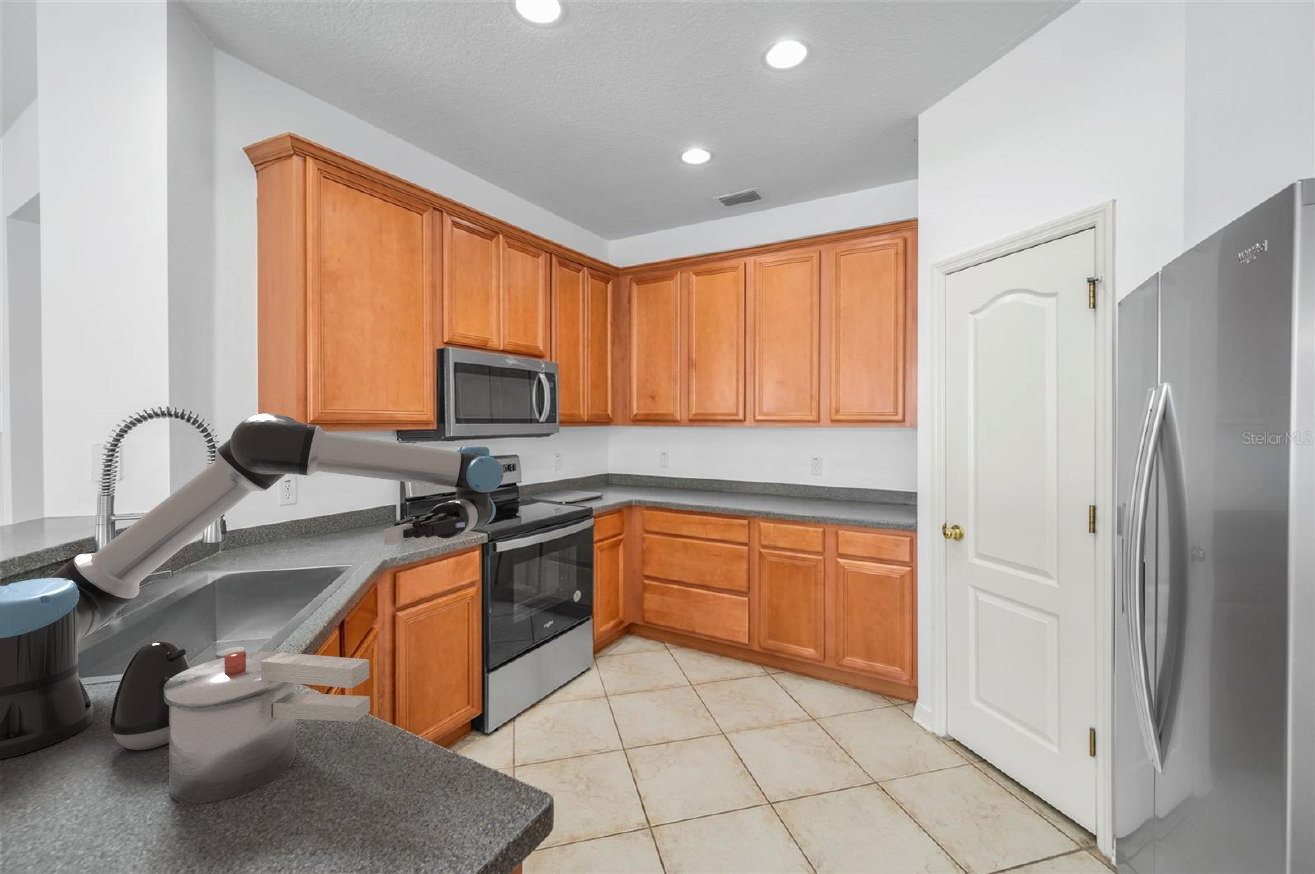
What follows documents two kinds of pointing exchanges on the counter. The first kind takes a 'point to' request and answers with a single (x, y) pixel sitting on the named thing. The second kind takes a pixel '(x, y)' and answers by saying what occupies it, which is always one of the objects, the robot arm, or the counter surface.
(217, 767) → the cooker pot
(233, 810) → the counter surface
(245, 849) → the counter surface
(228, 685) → the lid
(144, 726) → the pump dispenser
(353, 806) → the counter surface
